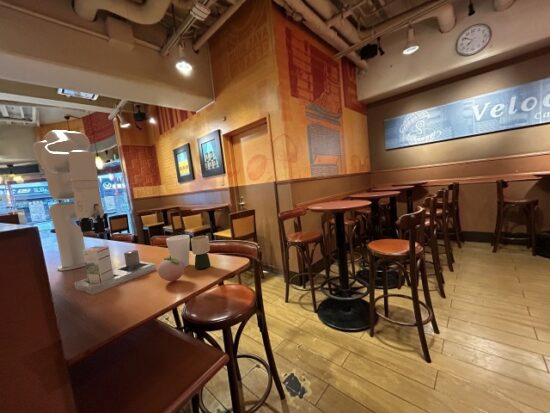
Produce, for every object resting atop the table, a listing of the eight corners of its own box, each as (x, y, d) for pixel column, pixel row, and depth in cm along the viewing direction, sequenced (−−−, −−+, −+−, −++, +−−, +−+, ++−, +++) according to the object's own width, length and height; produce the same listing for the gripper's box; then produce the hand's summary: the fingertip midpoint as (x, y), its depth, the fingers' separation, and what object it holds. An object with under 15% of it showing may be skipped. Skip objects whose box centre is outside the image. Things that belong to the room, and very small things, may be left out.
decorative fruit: (154, 285, 82) (150, 258, 81) (173, 276, 89) (169, 251, 88) (172, 289, 78) (168, 261, 77) (190, 279, 85) (187, 253, 84)
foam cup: (170, 265, 102) (166, 237, 101) (191, 261, 106) (188, 233, 105) (170, 272, 94) (166, 241, 92) (193, 267, 98) (190, 237, 96)
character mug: (218, 266, 96) (215, 236, 95) (204, 272, 91) (200, 241, 89) (201, 262, 103) (198, 234, 101) (188, 268, 97) (184, 238, 95)
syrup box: (115, 281, 89) (109, 245, 87) (102, 288, 83) (95, 249, 82) (102, 281, 90) (96, 245, 88) (88, 288, 84) (81, 250, 82)
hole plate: (75, 288, 84) (71, 265, 83) (138, 265, 105) (135, 247, 104) (92, 294, 78) (88, 269, 77) (156, 269, 99) (153, 249, 98)
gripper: (62, 187, 83) (70, 233, 85) (85, 185, 75) (93, 236, 77) (86, 186, 90) (93, 228, 92) (110, 184, 82) (117, 231, 84)
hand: (93, 232), depth 84 cm, fingers open, 9 cm apart
